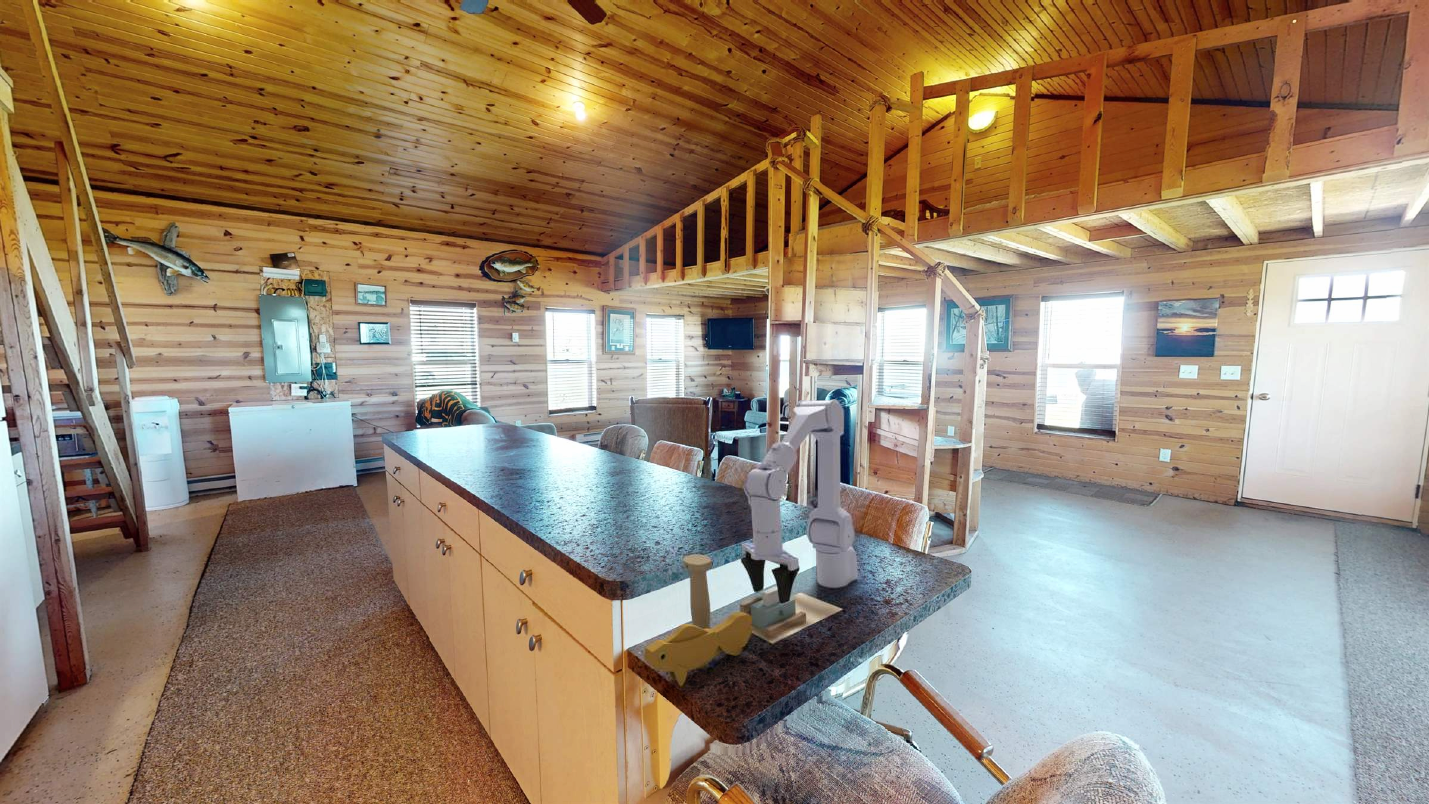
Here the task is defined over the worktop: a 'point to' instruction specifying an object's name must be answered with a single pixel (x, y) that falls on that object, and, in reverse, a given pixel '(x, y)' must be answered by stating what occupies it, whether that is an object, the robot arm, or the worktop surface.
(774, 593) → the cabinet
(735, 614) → the decorative fish
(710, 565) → the handle
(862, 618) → the worktop surface
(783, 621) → the cleat board
